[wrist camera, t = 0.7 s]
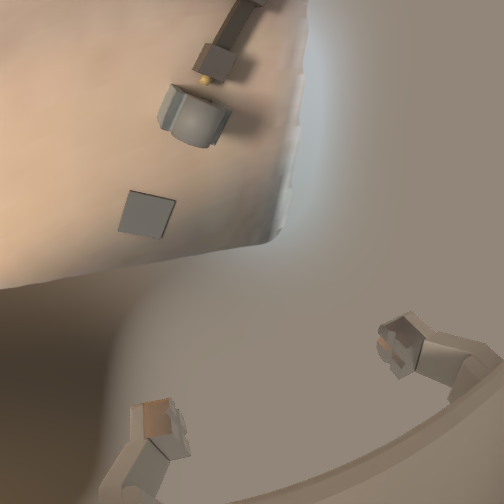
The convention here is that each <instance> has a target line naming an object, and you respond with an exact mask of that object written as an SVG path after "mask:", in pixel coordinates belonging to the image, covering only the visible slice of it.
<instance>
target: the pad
mask: <svg viewBox="0 0 504 504" xmlns="http://www.w3.org/2000/svg"><path fill="white" fill-rule="evenodd" d="M174 202H175V200H171V199H166V198H162V197H157V196H153V195H149V194H144V193H140V192H135V191H130V192H129V195H128V198H127V201H126V205H125V208H124V211H123V215H122V218H121V222H120V225H119V229H118V231H119V232H124V233H130V234H136V235H141V236H147V237H152V238H158V239H160V238H161V236H162V233H163V230H164V228H165V225H166V223H167V220H168V217H169V215H170V212H171V210H172V207H173V205H174Z"/></svg>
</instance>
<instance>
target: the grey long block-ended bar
mask: <svg viewBox="0 0 504 504" xmlns="http://www.w3.org/2000/svg"><path fill="white" fill-rule="evenodd" d="M266 2H267V0H237V1H236V2H235V4H234V6H233V7H232V9H231V11H230V13H229V14H228V16H227V18H226V19H225V21H224V23H223V25H222V26H221V28H220V30H219V32H218V34H217V35H216V37H215V39H214V41H213V43H212V44H208V43H205V45H204V47H203V49H202V51H201V53H200V55H199V57H198V59H197V61H196V63H195V65H194V67H193V69H192V70H194V71H196V72H198V73H201V74H203V75H202V77H201V79H200V81H199V82H200V83H202V84H204V85H207V86H208V85H209V83H210V81H211V79H212V78H213V79H216V80H218V81H221V82H223V83H224V81H225V79H226V77H227V75H228V73H229V71H230V70H231V68H232V66H233V64H234V62H235V60H236V58H237V56H238V55H236V54H234V53H232V52H230V49H231V47H232V45H233V43H234V41H235V40H236V38H237V36H238V34H239V33H240V31H241V29H242V27H243V26H244V24H245V22H246V20H247V19H248V17H249V15H250V14H251V12H252V10H253V9H254V8H255V7H262V6H264V5H265V3H266Z"/></svg>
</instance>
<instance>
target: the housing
mask: <svg viewBox="0 0 504 504" xmlns="http://www.w3.org/2000/svg"><path fill="white" fill-rule="evenodd" d="M231 113H232V111H231V110H230V109H228V108H227V107H226V106H224V105H223V104H222V103H221V102H219V101H217V100H214V99H212V101H211V102H210V101H207V100H205V99H202V98H199V97H196V96H193V95H190V94H187V93H184V92H183V91H182V90H181V89H180V88H179V87H178V86H175V85H172V84H171V85H170V87H169V89H168V91H167V94H166V96H165V98H164V100H163V103H162V105H161V107H160V110H159V112H158V115H157V119H158V122H159V125H160V128H161V129H163V130H167V131H170V132H171V134H172V135H173V136H174V137H175V138H177V139H178V140H180V141H182V142H184V143H187V144H189V145H192V146H195V147H199V148H208V147H209V145H210V144H211V145H214V146H215V145H216V143H217V141H218V139H219V137H220V135H221V133H222V131H223V129H224V127H225V125H226V123H227V121H228V119H229V117H230V115H231Z"/></svg>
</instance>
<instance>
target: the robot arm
mask: <svg viewBox="0 0 504 504" xmlns="http://www.w3.org/2000/svg"><path fill="white" fill-rule="evenodd" d="M378 333H379V334H380V338H379V339H378V341H377V350H378V353H379V355H380V357H381V358H382V360H383V361H384V362H386V363H389V364H390V370H391V371H392V372H393V373H394V374H395V376H396V377H397V378H398V379H401V378H403V377H405V376H407V375H409V374H411V373H412V372H414V371H416V372H417V373H419V374H421V375H424V376H426V377H429V378H431V379H433V380H435V381H438V382H440V383H442V384H445V385H447V386H449V387H452V389H451V391H450V393H449V395H448V398H447V400H448V401H449V402H450V403H451V404H449V405H448V406H447V407H445V408H444V409H442V410H441V411H439V412H438V413H436V414H435V415H433V416H432V417H430V418H429V419H427V420H426V421H424V422H423V423H421V424H419V425H418V426H416V427H415V428H413V429H411V430H410V431H408V432H406V433H405V434H403V435H401V436H399V437H398V438H396V439H394V440H393V441H390V442H389V443H387V444H385V445H383V446H381V447H379V448H377V449H376V450H373V451H372V452H370V453H368V454H366V455H363V456H361V457H359V458H358V459H355V460H353V461H351V462H349V463H346V464H344V465H342V466H340V467H337V468H335V469H333V470H331V471H328V472H326V473H323V474H321V475H318V476H316V477H313V478H311V479H308V480H305V481H302V482H300V483H297V484H294V485H291V486H288V487H285V488H282V489H279V490H276V491H272V492H269V493H265V494H262V495H259V496H255V497H251V498H248V499H243V500H240V501H235V502H231V503H227V504H504V360H503V359H502V358H501V357H500V356H498V355H497V354H496V353H495V352H494V351H493V350H492V349H491V348H490V347H489V346H488V345H487V344H485V343H482V342H478V341H473V340H470V339H465V338H462V337H458V336H454V335H450V334H447V333H443V332H437V333H436V332H435V331H434V330H432V329H431V328H430V327H429V326H428V325H427V324H426V323H425V322H424V321H423V320H422V319H421V318H419V317H418V316H417V315H416V314H415V313H414V312H412V311H409V312H407V313H405V314H403V315H401V316H399V317H397V318H395V319H393V320H390V321H388V322H386V323H384V324H382V325H380V327H379V329H378ZM130 413H131V414H130V417H131V418H130V426H131V428H130V429H131V442H127V443H126V445H125V447H124V448H123V450H122V451H121V453H120V454H119V456H118V458H117V459H116V461H115V462H114V464H113V466H112V467H111V469H110V470H109V472H108V474H107V475H106V477H105V478H104V480H103V482H102V483H101V485H100V486H99V504H163V503H161V502H160V501H158V500H157V499H155V497H156V495H157V492H158V490H159V488H160V485H161V483H162V481H163V478H164V476H165V473H166V471H167V468H168V466H169V463H170V461H171V460H176V459H181V458H185V457H189V456H191V453H190V448H189V442H188V440H187V439H186V438H185V434H186V433H187V430H186V425H185V421H184V418H183V416H182V414H181V413H180V411H179V409H176V408H175V403H174V401H173V400H172V399H171V398H166V399H161V400H156V401H151V402H145V403H141V404H135V405H132V406H131V410H130Z"/></svg>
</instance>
